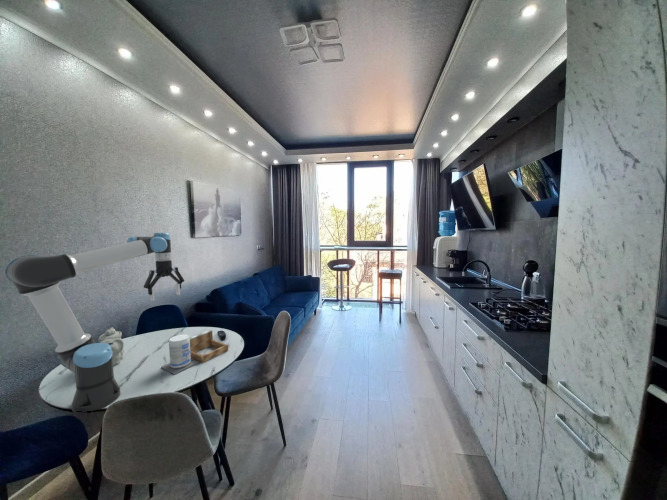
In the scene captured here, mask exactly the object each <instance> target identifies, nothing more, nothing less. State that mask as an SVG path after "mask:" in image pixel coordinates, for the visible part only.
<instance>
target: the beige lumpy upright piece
mask: <svg viewBox="0 0 667 500" xmlns="http://www.w3.org/2000/svg"><path fill="white" fill-rule="evenodd" d="M122 335H123V333H122V331H118V330H116V329H115V328H114V327H110V328H108V329H106V330H105V331H104V333H102V334H101V335H100V336H99V337H98V343H106V344H109V345H110V346H111V349H112V352H113V354H112V359H113V367H116V366H117V365H119V364H121V360H123V359H124V351H125V350H124V345H125V344H124V339H122Z"/></svg>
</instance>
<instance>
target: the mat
mask: <svg viewBox="0 0 667 500" xmlns="http://www.w3.org/2000/svg"><path fill="white" fill-rule="evenodd" d="M198 364H200V362H199V361H196V360H194V359H192V358H191V362H190V363H189V364H188V365H186V366H184V367H181V368H172V367H171V366H170V362H169V363H167V364H165V365H162V366H160V368H161V369H162V370H163V371H164V370H165V371H166V372H168V373H170V374H172V375H173V376H174V375H177V374H179V373H182V372H184V371H186V370H188V369H190V368H192V367H194V366H197V365H198Z"/></svg>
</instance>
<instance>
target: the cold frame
mask: <svg viewBox="0 0 667 500" xmlns="http://www.w3.org/2000/svg"><path fill="white" fill-rule="evenodd" d="M189 338H190V355H191V359H194V360H196V361H198V362H199V363H202V364H203V363H205V362H207V361H209V360H212V359H214V358H215V357H218V356H220V355H222V354H224V353H226V352H228V351H229V344H227V343H224V342H220V341H218V340H215V339H214V337H213V330H212V329H209V330H206V331H204V332H201V333H199V334H196V335H193V336H191V337H190V336H189ZM208 347H209V348H210V347H214V348H216V349H214V350H212V351H209V352H207V353H204V354H200V353H198V352H199V351H202V350H204V349H207V348H208Z"/></svg>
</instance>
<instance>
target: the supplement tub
mask: <svg viewBox="0 0 667 500" xmlns="http://www.w3.org/2000/svg"><path fill="white" fill-rule="evenodd" d="M168 348H169V349H168V350H169V363H170V366H171V367H172V368H181V367H184V366H186V365H188V364H189V363H190V362H191V359H192V358H191V355H190V335H189V334H186V333H185V334H177V335H175V336H172V337H171V338H169V340H168Z"/></svg>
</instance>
